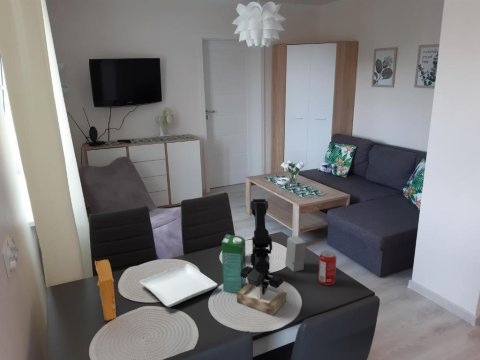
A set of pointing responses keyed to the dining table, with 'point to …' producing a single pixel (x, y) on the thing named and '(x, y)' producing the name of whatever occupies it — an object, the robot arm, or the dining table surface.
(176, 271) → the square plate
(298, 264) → the skincare box
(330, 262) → the red food canister
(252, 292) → the lid
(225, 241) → the milk carton
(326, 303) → the dining table surface
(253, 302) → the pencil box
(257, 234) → the robot arm
